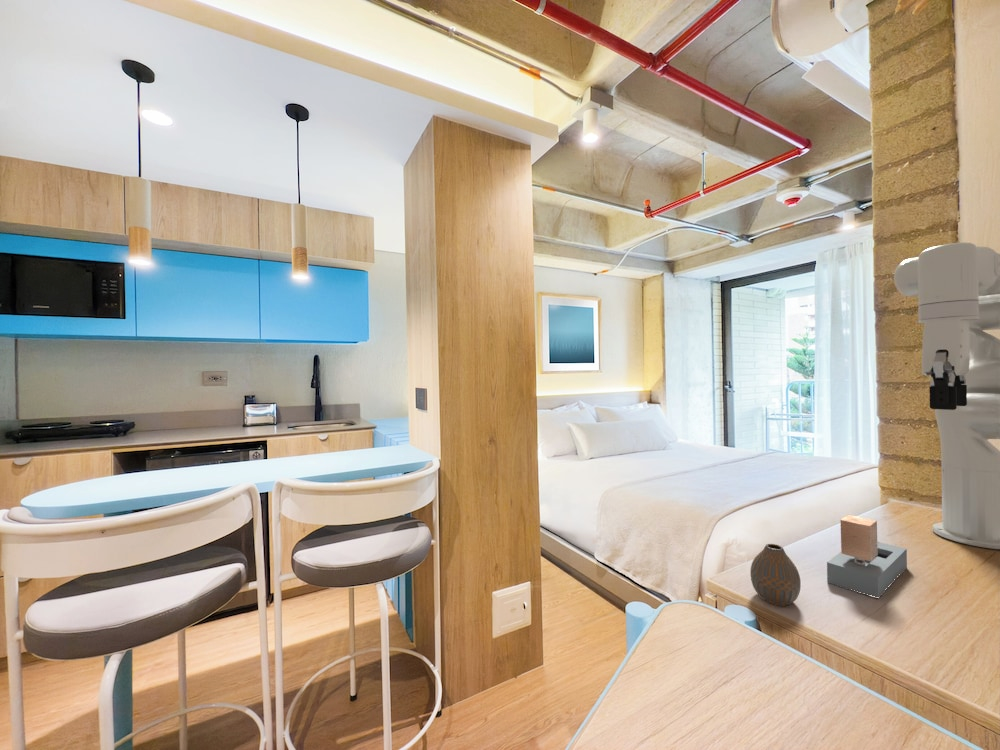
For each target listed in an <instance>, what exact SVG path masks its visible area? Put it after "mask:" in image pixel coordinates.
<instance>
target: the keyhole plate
mask: <svg viewBox="0 0 1000 750" xmlns="http://www.w3.org/2000/svg"><path fill="white" fill-rule="evenodd" d="M877 545H878V555H877V556H876V557H875V558H874V559H873V560H872V561H867V560H865V566H864V565H861V564H857V563H855V561H854V559H855V558H856V557H852V556H849V555H845V554H841V551H840V552H838V553H837V554H836V555H835V556H833V557H832V558H830V559H829V560H828V561H826V576H827V577H826V582H829V583H828V584H830V583H832V584H831V585H833V584H835V585H834V586H836V585H838V586H837V587H839V586H841V587H840V588H842V587H844V588H843V589H845V588H847V589H846V590H848V589H852V590H855V591H858V592H861V593H865V594H868V595H872V596H875V597H879V596H880V595H881V594H882V593H883V592H884V591H885V589H886V588H888V586H889V585H890V584H891V583H892V582H893V581H894V579H896V578H897V576H899V574H901V573H902V572H903V571H904V572H905V570H907V568H908V560H907V559H908V558H907V557H908V553H907V552H908V551H907V550H908V549H907V548H905V547H901V546H897V545H893V544H889V543H885V542H881V541H877ZM863 560H864V559H863ZM904 572H903V573H904ZM903 573H902V574H903ZM902 574H901V575H902ZM899 577H900V576H899ZM897 579H898V578H897ZM897 579H896V580H897ZM894 582H895V581H894ZM894 582H893V583H894ZM888 589H889V588H888ZM885 592H886V591H885ZM885 592H884V593H885ZM884 593H883V594H884ZM883 594H882V595H883Z"/></svg>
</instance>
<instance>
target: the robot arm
mask: <svg viewBox="0 0 1000 750" xmlns="http://www.w3.org/2000/svg"><path fill="white" fill-rule="evenodd" d="M893 280H894V281H893V282H894V286H895V288H896V290H897V291H898V292H899V293H900V294H901V295H903V296H905V297H910V298H911V297H913V298H915V297H916V298H917V299H918V301H917V302H918V307H917V309H918V315H917V316H918V324H921V325H923V326H924V327H923V333H922V349H921V351H922V354H921V373H922V375H923V376H926V377H928V376H931V377H930V380H929V385H930V386H929V388H928V389H929V408H930V409H931V410H934V415H935V419H936V423H937V428H938V434H939V440H940V449H941V450H940V453H941V457H940V459H941V460H940V461H941V517H942V518H941V519H942V521H941V522H937V523H934V524H932V529H931V530H932V531H933V533H934V534H936V535H938V536H940V537H942V538H945V539H947V540H950V541H954V542H957V543H960V544H965V545H969V546H972V547H979V548H984V549H992V550H1000V450H999V449H998V447H996V446H994V445H993V444H992V442H990V441H989V440H1000V338H998V337H996V335H995V336H994V335H992V334H990V333H987V332H985V331H991V330H992V331H995V330H1000V253H998V252H997V251H996V250H994V249H993V248H991V247H988V246H977V245H976V244H974V243H972V242H966V241H965V242H963V241H961V242H952V243H947V244H942V245H937V246H931V247H929V248H927V249H924V250H923V251H921V252H920V254H919V255H918V256H916V257H910V258H907V259H904V260H903V261H901V262H900V263H899V264H898V265H897V267H896V268H895V270H894V274H893Z"/></svg>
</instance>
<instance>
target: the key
mask: <svg viewBox="0 0 1000 750" xmlns="http://www.w3.org/2000/svg"><path fill="white" fill-rule="evenodd" d="M839 521H840V547H841V549H840V550H841V551H840V552H841V554H845V555H849V556H852V557H856V558H855V559H854V561H855V563H857V564H861V565H864V566H865V560H867V561H872V560H873V559H874V558H875V557H876V556H877V555H878V545H877V542H878V523H877V522H878V520H876V519H875V520H874V519H870V518H865V517H861V516H857V515H851V514H847V515H846V516H844V517H842V518H840V520H839ZM863 559H864V560H863Z"/></svg>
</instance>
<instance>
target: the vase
mask: <svg viewBox="0 0 1000 750" xmlns="http://www.w3.org/2000/svg"><path fill="white" fill-rule="evenodd" d="M749 573H750V580H751V584H752V587H753V589H754V591H755V592H756V594H757V595H759V597H760V598H761V599H762V600H763V601H765V602H766V603H768V604H772V605H773V606H774V605H775V606H780V607H781V606H782V607H784V606H785V607H786V606H789V605H790V604H793V603H794V602H795V601H796V600H797V599H798V597H799V595H800V593H801V587H802V586H801V577H800V573H799V571H798V569H797V566H796V565H795V563H794V562H793V561H792V559H791V558H790V557H789V556H788V554H787V553H786V551H785V549H784V547H783V546H782V545H779V544H776V543H767V544H765V546H764V548H763V549H762V550H761V551H760V552H759V553H758V554H756V555H755V557H754V558H753V560H752V562H751V566H750V572H749Z"/></svg>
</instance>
